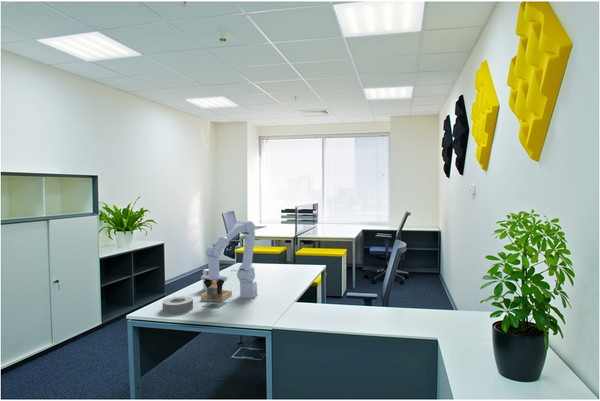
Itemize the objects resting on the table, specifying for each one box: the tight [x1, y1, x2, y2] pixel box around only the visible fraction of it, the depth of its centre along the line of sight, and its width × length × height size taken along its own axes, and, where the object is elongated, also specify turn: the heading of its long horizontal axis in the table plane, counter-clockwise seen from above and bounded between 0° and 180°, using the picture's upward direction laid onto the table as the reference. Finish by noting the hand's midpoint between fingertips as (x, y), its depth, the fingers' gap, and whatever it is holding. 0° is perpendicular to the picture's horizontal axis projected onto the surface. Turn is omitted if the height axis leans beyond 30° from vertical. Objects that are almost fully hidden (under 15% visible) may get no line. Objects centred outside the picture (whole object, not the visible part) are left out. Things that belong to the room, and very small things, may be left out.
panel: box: [201, 301, 228, 309], centre depth 204 cm, size 10×10×1 cm
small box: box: [202, 268, 218, 292], centre depth 238 cm, size 8×6×13 cm
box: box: [206, 285, 223, 300], centre depth 205 cm, size 5×8×6 cm, turn 165°
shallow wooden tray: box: [200, 289, 233, 302], centre depth 217 cm, size 13×12×4 cm
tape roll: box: [162, 295, 194, 315], centre depth 199 cm, size 15×15×5 cm
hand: (214, 293), depth 204 cm, fingers closed on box, 5 cm apart
